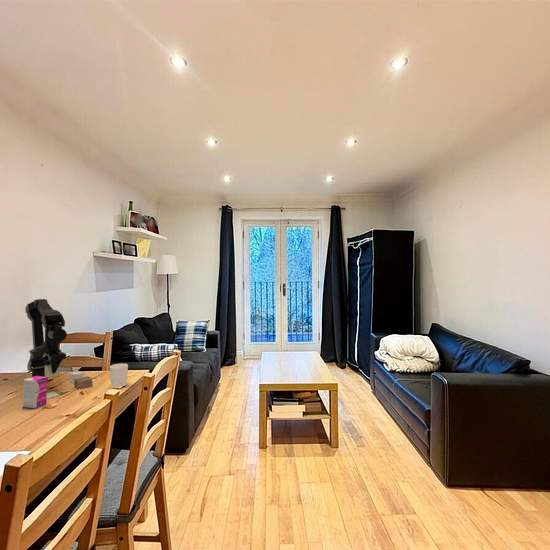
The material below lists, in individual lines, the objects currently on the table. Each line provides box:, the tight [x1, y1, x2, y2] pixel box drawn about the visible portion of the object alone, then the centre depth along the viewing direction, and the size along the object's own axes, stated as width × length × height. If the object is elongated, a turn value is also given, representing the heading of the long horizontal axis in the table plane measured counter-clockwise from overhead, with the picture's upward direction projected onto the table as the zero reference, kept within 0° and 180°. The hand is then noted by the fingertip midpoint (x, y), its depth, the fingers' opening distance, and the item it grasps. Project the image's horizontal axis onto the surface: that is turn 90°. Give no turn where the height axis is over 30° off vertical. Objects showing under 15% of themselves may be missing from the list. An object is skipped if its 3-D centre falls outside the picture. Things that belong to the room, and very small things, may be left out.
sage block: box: [45, 364, 60, 378], centre depth 154 cm, size 4×4×4 cm
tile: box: [47, 391, 61, 400], centre depth 145 cm, size 7×7×1 cm
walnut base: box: [73, 376, 93, 391], centre depth 158 cm, size 6×6×4 cm
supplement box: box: [22, 376, 48, 410], centre depth 134 cm, size 6×6×12 cm
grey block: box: [69, 371, 85, 384], centre depth 165 cm, size 4×4×4 cm
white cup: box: [109, 363, 129, 387], centre depth 158 cm, size 8×8×10 cm
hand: (52, 372), depth 154 cm, fingers closed on sage block, 4 cm apart
